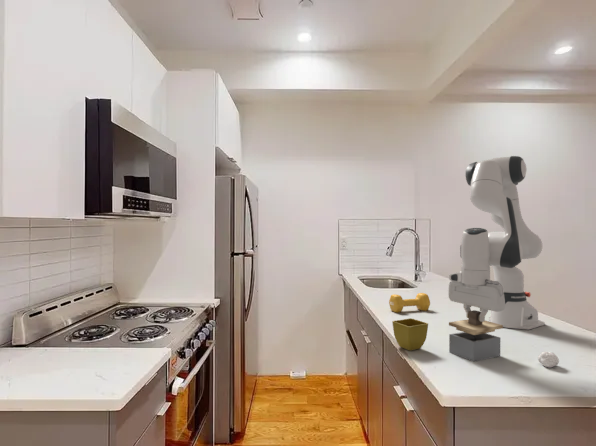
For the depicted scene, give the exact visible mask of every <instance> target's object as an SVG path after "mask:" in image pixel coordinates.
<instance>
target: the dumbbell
mask: <svg viewBox="0 0 596 446" xmlns="http://www.w3.org/2000/svg"><path fill="white" fill-rule="evenodd" d="M388 304H389V308H390V311H392V312H393V313H397V314H398V313H401V312H403V309H404V307H416V309H418V310H419V311H423V312H425V311H426V312H427V311H429V308H430V306H431V300H430V296H429V295H428V294H427V293H426V292H425V293H424V292H420V293H417V294H416V296H415V298H407V299H403V297H402V295H399V294H396V293H395V294H391V295H390V298H389V301H388Z"/></svg>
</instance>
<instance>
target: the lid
mask: <svg viewBox="0 0 596 446" xmlns="http://www.w3.org/2000/svg"><path fill="white" fill-rule="evenodd" d="M480 313H481V311H480V310H475V309H474V310H471V311H468V318H466V319H462V320H456V321H449V322H448V326H449V327H453V328H455V331H456V330H457V331H460V332H466V333H469V334H472V335H478V334H483V333H487V334H490V333H493V332H496V330H501V329H504V327H503V325H500V324H496V323H493V322H490V320H485V321H484V322H480V321H478V320H477V319H478V318H477V316H478V315H480Z"/></svg>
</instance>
